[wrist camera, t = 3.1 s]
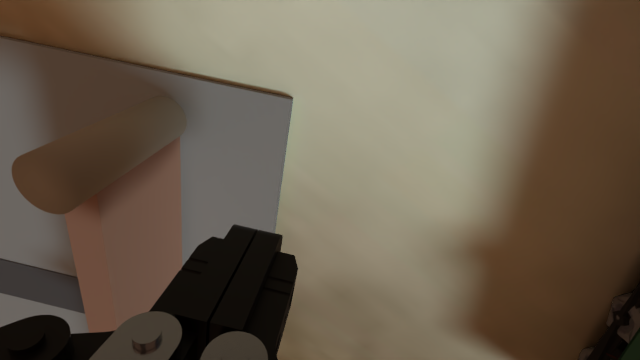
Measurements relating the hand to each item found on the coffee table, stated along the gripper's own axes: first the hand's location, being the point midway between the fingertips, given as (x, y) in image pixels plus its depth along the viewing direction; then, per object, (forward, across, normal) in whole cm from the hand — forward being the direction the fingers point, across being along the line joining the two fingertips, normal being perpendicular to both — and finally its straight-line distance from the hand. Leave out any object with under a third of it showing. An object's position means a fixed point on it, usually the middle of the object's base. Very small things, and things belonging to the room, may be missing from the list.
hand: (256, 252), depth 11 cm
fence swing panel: (+5, +6, +4) cm, 8 cm away
